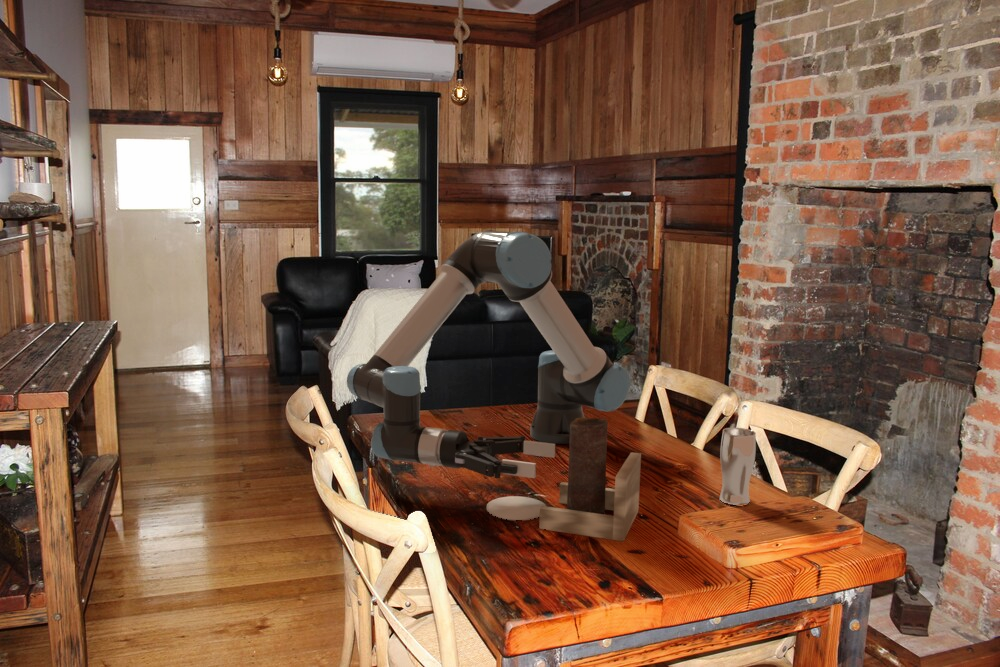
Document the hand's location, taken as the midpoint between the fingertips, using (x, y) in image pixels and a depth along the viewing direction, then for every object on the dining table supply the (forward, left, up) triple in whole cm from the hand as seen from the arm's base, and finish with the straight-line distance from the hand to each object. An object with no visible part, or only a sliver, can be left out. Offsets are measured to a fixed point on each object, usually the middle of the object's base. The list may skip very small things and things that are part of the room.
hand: (545, 460), depth 162 cm
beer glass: (-32, +26, -11) cm, 43 cm away
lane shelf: (-3, +8, -11) cm, 14 cm away
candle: (-3, +8, -11) cm, 14 cm away
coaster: (+2, -6, -11) cm, 12 cm away
